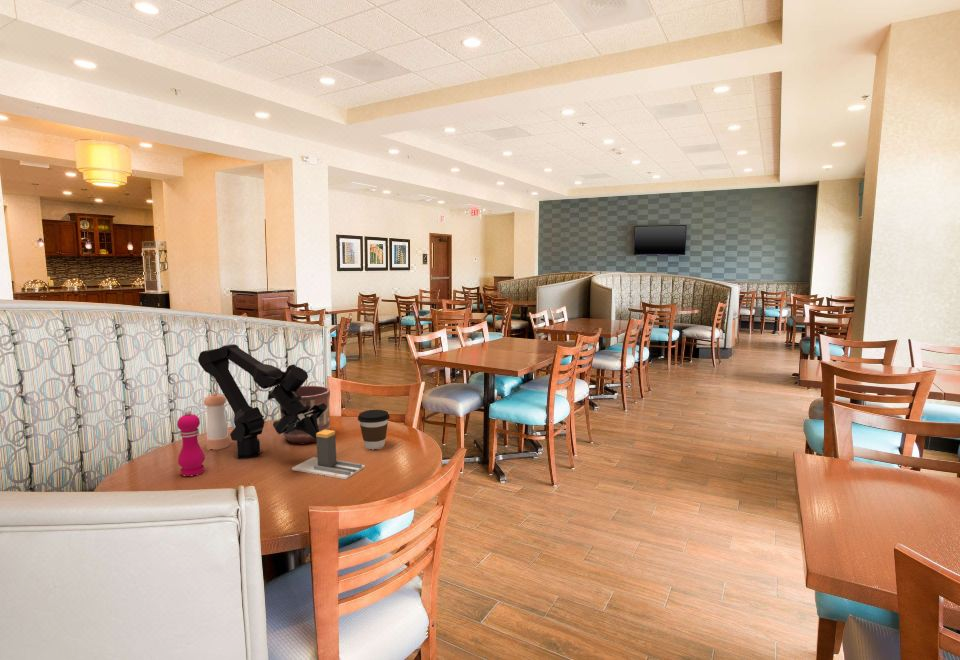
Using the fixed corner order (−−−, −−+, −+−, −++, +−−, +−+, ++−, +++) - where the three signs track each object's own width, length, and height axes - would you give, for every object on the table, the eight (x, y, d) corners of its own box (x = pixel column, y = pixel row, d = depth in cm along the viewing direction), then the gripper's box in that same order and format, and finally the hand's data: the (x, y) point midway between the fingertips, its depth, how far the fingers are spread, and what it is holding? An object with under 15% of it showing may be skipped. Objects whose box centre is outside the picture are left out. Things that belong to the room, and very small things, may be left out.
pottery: (286, 450, 180) (284, 399, 178) (275, 436, 195) (273, 389, 192) (337, 441, 190) (336, 392, 187) (323, 428, 204) (321, 383, 202)
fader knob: (317, 467, 163) (316, 433, 162) (326, 463, 167) (324, 429, 165) (328, 469, 162) (326, 434, 160) (336, 464, 165) (335, 430, 164)
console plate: (292, 469, 163) (291, 464, 163) (313, 458, 172) (313, 454, 172) (345, 479, 156) (345, 474, 156) (364, 467, 165) (364, 462, 165)
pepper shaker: (223, 449, 181) (219, 395, 179) (202, 449, 181) (198, 395, 179) (233, 442, 188) (230, 390, 186) (213, 442, 189) (209, 390, 186)
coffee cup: (356, 444, 186) (354, 411, 184) (386, 440, 190) (385, 407, 189) (361, 454, 176) (360, 419, 174) (394, 449, 180) (393, 415, 179)
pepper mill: (178, 479, 157) (173, 414, 154) (179, 471, 163) (174, 408, 160) (205, 474, 160) (201, 411, 157) (205, 466, 166) (201, 405, 164)
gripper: (295, 408, 178) (323, 444, 175) (253, 424, 161) (283, 463, 158) (313, 387, 174) (342, 423, 172) (271, 401, 157) (303, 441, 154)
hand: (318, 438), depth 164 cm, fingers closed
